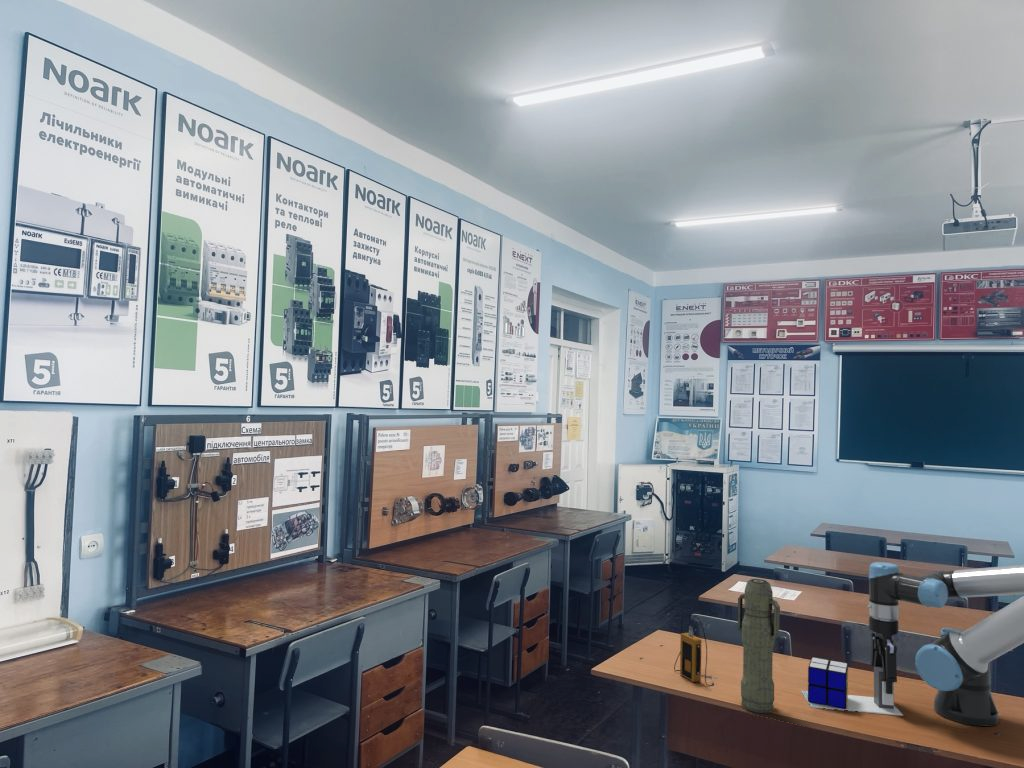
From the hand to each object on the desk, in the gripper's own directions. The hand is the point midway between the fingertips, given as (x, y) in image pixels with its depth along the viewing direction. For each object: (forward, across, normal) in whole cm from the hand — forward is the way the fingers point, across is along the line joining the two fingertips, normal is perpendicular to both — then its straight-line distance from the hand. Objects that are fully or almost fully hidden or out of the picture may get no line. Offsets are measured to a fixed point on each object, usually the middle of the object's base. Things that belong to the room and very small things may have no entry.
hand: (883, 699), depth 202 cm
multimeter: (+2, -11, -50) cm, 51 cm away
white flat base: (+2, 0, -9) cm, 9 cm away
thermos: (+2, +9, -36) cm, 37 cm away
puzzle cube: (+2, 0, -15) cm, 15 cm away
